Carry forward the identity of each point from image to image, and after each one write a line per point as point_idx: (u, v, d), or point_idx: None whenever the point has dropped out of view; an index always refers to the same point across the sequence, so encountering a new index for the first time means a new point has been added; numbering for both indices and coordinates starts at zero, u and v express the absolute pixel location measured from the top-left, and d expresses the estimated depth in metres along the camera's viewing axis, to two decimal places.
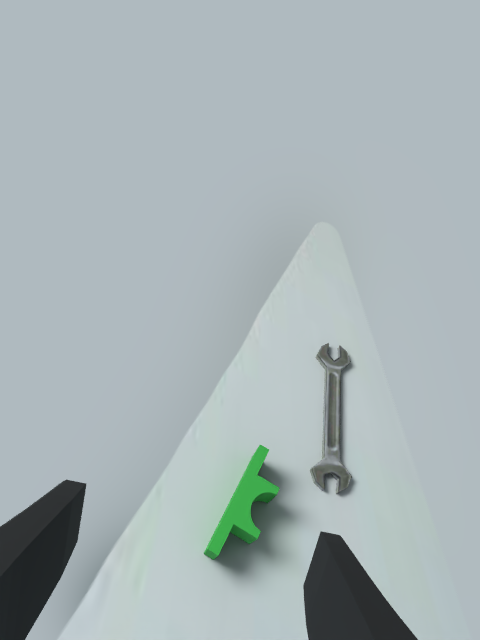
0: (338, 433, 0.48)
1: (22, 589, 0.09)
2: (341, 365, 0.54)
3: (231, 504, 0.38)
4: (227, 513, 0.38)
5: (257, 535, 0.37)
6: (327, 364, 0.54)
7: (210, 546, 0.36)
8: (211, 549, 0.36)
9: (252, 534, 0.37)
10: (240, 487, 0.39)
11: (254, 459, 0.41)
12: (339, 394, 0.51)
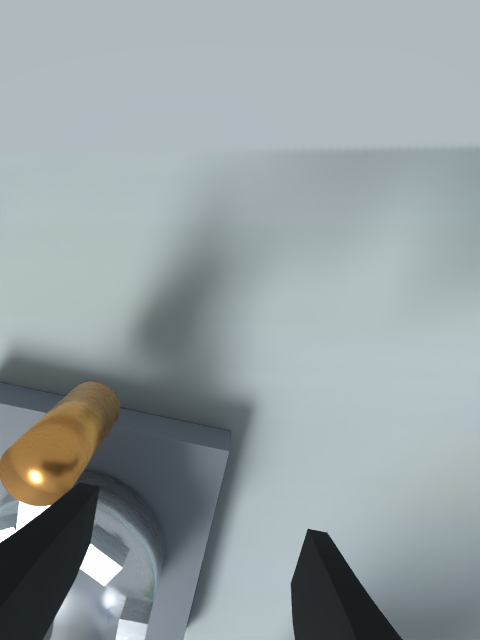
0: None
1: (40, 592, 0.09)
2: None
3: None
4: None
5: None
6: None
7: None
8: None
9: None
10: None
11: None
12: None
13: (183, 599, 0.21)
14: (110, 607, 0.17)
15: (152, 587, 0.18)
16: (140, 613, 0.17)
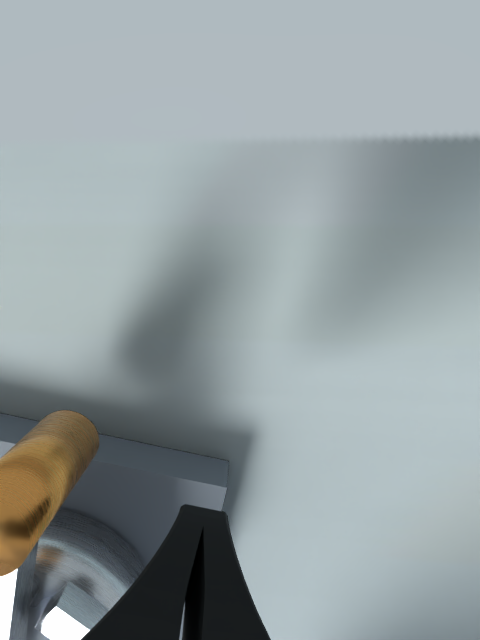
0: None
1: None
2: None
3: None
4: None
5: None
6: None
7: None
8: None
9: None
10: None
11: None
12: None
13: None
14: None
15: None
16: None
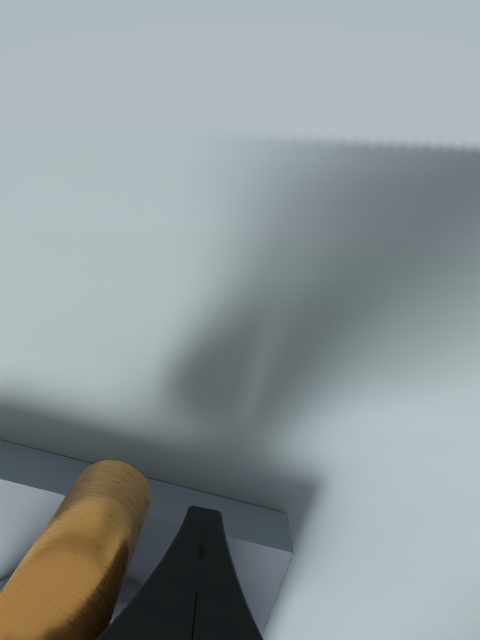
0: None
1: None
2: None
3: None
4: None
5: None
6: None
7: None
8: None
9: None
10: None
11: None
12: None
13: None
14: None
15: None
16: None
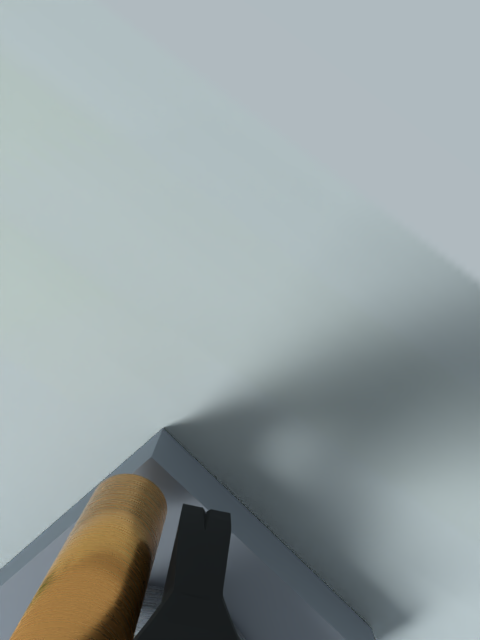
0: None
1: None
2: None
3: None
4: None
5: None
6: None
7: None
8: None
9: None
10: None
11: None
12: None
13: None
14: None
15: None
16: None
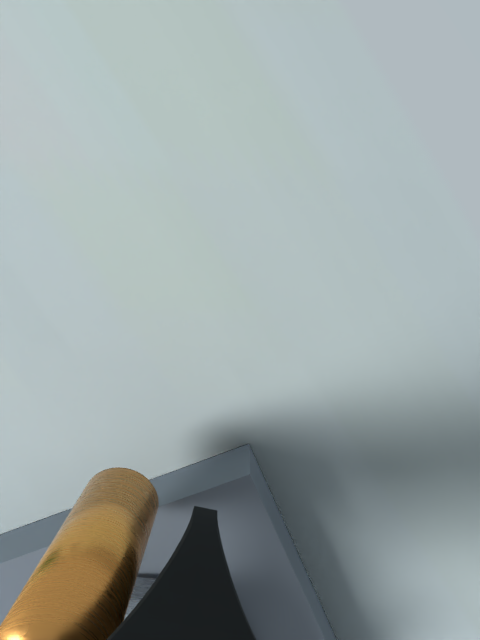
0: None
1: None
2: None
3: None
4: None
5: None
6: None
7: None
8: None
9: None
10: None
11: None
12: None
13: None
14: None
15: None
16: None
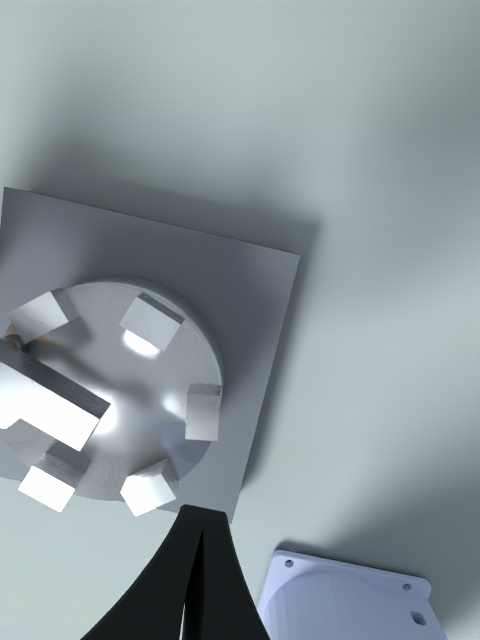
0: None
1: None
2: None
3: None
4: None
5: None
6: None
7: None
8: None
9: None
10: None
11: None
12: None
13: (241, 440, 0.19)
14: (135, 342, 0.15)
15: (135, 289, 0.15)
16: None
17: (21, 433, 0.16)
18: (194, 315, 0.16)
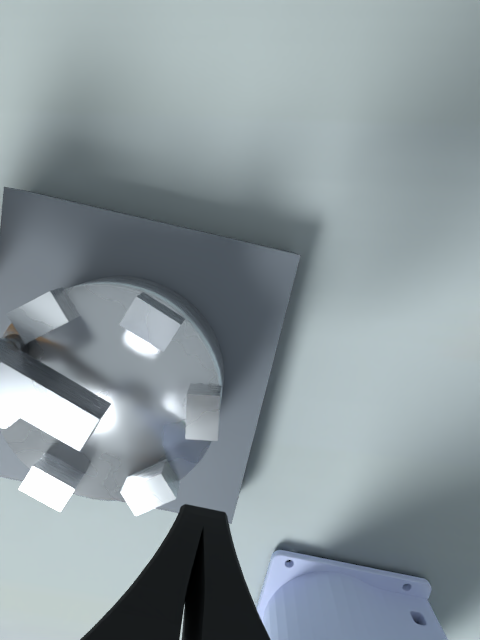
0: None
1: None
2: None
3: None
4: None
5: None
6: None
7: None
8: None
9: None
10: None
11: None
12: None
13: (241, 440, 0.19)
14: (135, 342, 0.15)
15: (135, 289, 0.15)
16: None
17: (21, 433, 0.16)
18: (194, 315, 0.16)
